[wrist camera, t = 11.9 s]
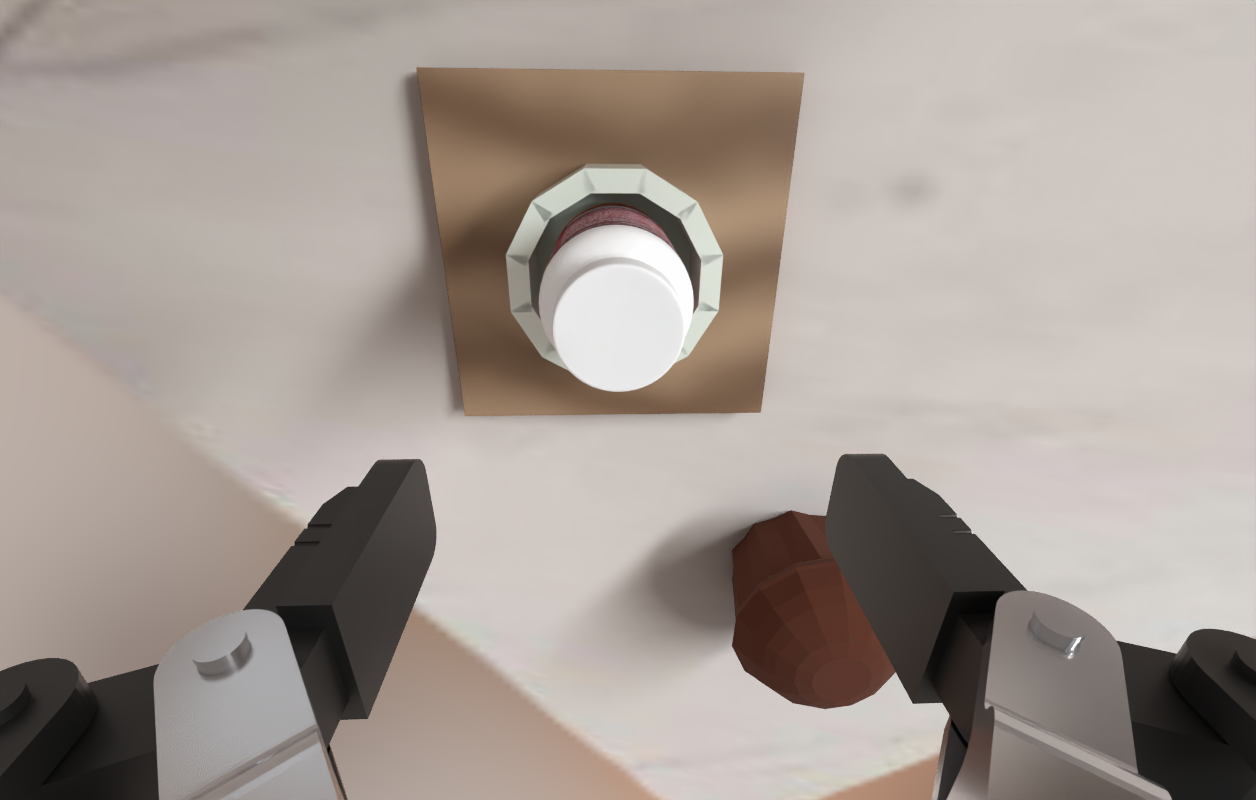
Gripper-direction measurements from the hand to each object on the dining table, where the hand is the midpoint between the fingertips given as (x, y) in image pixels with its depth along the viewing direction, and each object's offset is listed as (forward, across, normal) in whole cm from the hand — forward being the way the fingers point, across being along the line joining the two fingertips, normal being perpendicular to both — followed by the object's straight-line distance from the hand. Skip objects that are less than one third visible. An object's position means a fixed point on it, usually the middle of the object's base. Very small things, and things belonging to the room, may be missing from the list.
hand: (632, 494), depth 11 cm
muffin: (+22, -13, +22) cm, 34 cm away
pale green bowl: (+21, 0, 0) cm, 21 cm away
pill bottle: (+20, 0, 0) cm, 20 cm away
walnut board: (+22, 0, 0) cm, 22 cm away
